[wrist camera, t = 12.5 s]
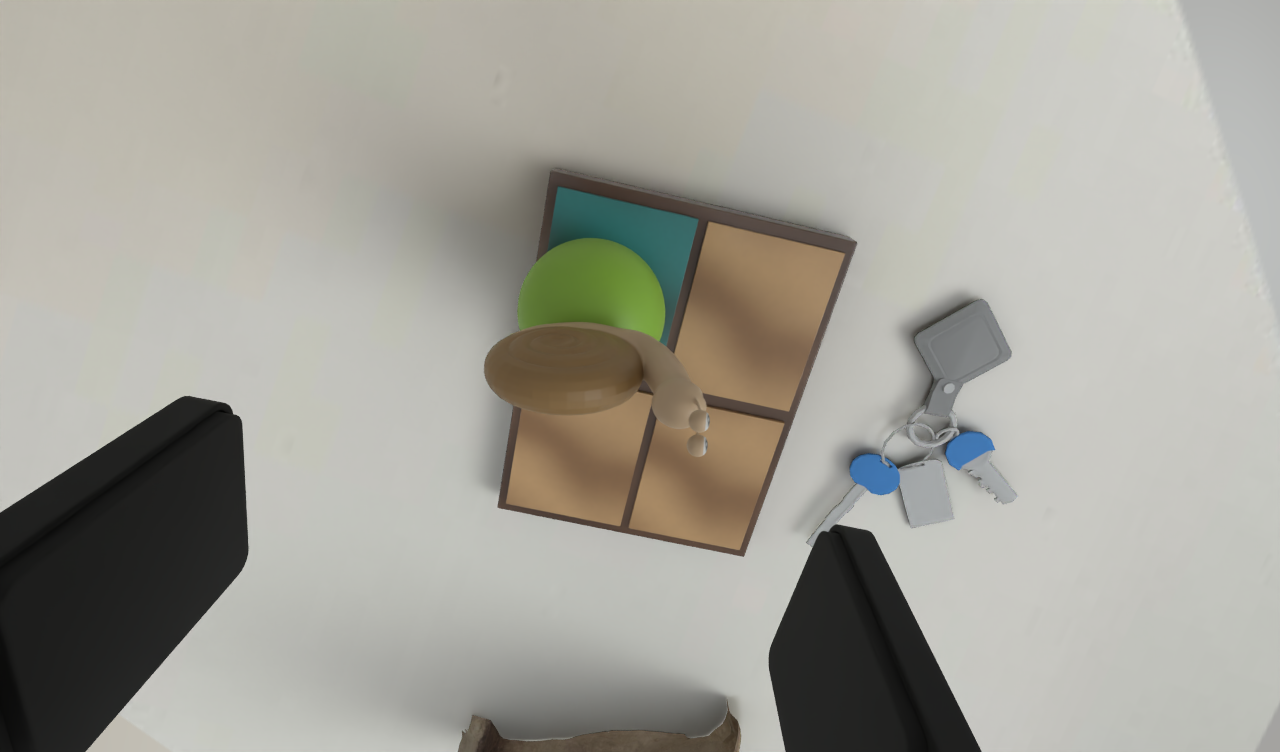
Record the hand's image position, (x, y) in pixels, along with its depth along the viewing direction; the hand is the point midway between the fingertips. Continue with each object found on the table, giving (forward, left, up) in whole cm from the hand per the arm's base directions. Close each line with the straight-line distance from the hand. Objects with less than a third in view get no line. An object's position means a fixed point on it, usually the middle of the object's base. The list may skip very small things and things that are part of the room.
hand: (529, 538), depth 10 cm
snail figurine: (+1, 0, -17) cm, 17 cm away
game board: (+4, +3, -18) cm, 19 cm away
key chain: (+5, +17, -18) cm, 25 cm away
